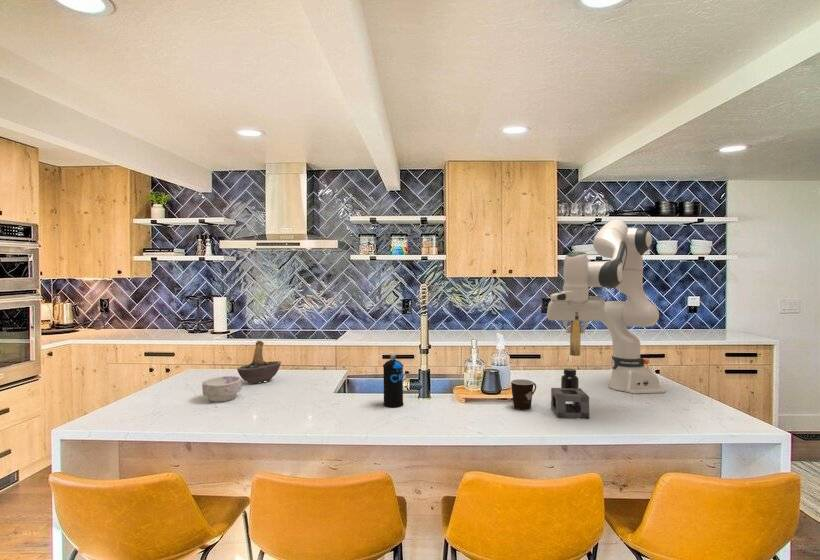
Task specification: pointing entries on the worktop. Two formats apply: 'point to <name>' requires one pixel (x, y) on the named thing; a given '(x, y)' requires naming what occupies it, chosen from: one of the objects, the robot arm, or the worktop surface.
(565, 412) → the collar stand
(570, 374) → the supplement bottle
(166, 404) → the worktop surface
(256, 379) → the mortar and pestle
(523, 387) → the coffee mug
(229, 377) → the grey stone bowl
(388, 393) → the aerosol can
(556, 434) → the worktop surface
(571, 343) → the brass tube
